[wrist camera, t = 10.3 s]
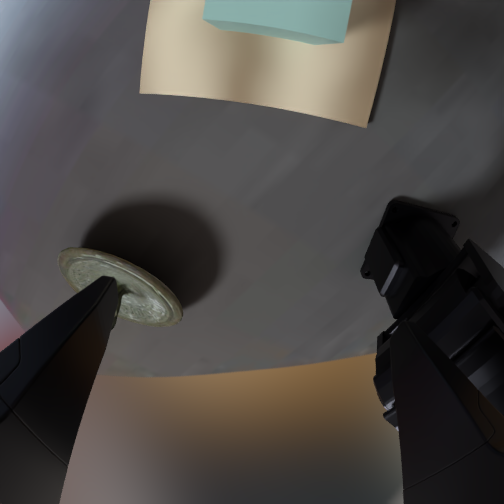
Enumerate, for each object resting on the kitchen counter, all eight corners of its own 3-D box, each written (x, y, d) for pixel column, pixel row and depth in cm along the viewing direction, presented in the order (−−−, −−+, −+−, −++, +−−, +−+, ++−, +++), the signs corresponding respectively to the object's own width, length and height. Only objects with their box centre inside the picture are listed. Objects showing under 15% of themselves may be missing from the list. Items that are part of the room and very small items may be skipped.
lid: (210, 258, 23) (201, 308, 19) (165, 333, 28) (154, 378, 24) (79, 197, 20) (45, 236, 16) (62, 286, 25) (39, 326, 21)
